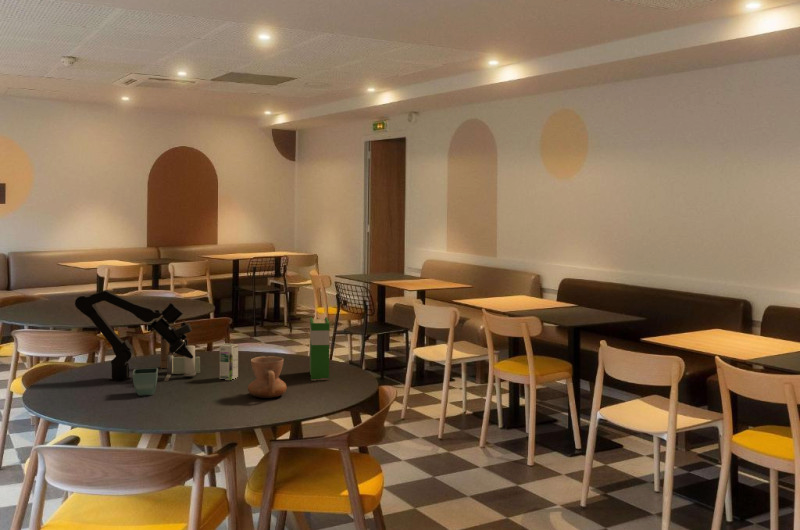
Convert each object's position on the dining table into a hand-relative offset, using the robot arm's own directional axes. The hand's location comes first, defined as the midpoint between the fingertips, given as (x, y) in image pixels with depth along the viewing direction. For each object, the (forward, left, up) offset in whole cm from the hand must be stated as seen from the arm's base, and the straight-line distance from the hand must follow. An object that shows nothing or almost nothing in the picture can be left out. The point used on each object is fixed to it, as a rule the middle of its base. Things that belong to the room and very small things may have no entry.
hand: (193, 356), depth 312 cm
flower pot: (-31, -2, -9) cm, 32 cm away
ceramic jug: (-14, -45, -9) cm, 48 cm away
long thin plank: (-2, +11, -9) cm, 14 cm away
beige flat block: (+5, +7, -8) cm, 12 cm away
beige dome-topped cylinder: (-1, +1, -8) cm, 8 cm away
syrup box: (+4, -15, -9) cm, 18 cm away
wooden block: (+12, +20, -9) cm, 25 cm away
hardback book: (+25, -46, -9) cm, 53 cm away
